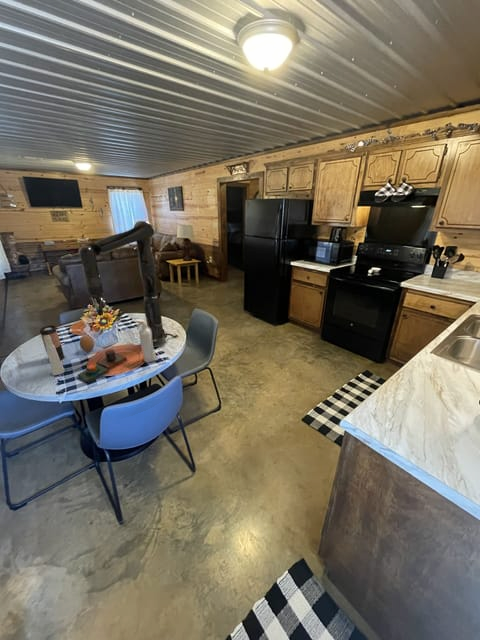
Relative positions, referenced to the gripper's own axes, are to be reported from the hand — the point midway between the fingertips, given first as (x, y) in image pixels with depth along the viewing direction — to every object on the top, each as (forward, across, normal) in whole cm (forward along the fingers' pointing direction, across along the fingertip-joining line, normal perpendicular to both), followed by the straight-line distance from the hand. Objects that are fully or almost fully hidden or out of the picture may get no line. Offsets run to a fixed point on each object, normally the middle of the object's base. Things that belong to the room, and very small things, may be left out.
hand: (100, 315), depth 145 cm
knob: (+24, -7, +4) cm, 26 cm away
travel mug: (+27, +25, +17) cm, 41 cm away
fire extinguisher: (+27, -23, -10) cm, 37 cm away
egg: (+27, +18, +2) cm, 33 cm away
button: (+23, -9, +16) cm, 30 cm away
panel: (+27, -7, +4) cm, 28 cm away
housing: (+27, -9, +16) cm, 33 cm away
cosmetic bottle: (+27, +10, +24) cm, 38 cm away
